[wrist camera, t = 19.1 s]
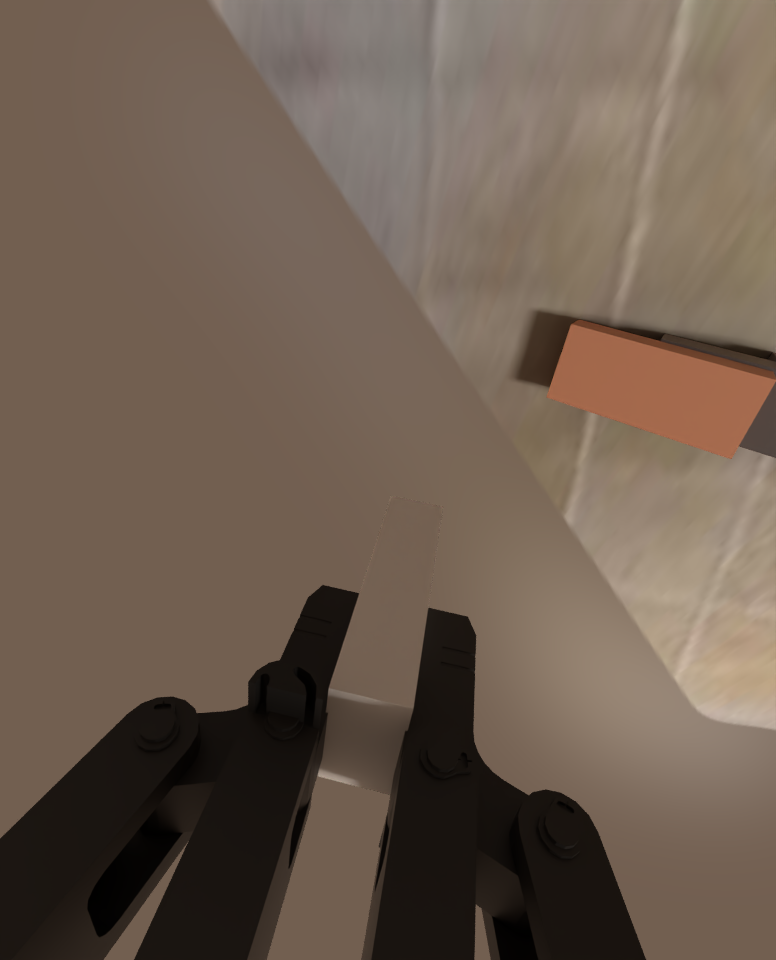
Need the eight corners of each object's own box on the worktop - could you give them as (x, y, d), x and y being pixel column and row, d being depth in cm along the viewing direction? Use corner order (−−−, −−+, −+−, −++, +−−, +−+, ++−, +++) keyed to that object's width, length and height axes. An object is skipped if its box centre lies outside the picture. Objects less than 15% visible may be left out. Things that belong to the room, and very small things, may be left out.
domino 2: (630, 411, 36) (829, 474, 32) (661, 338, 34) (883, 396, 29) (635, 402, 38) (823, 461, 34) (664, 333, 35) (873, 386, 31)
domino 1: (546, 397, 36) (731, 459, 32) (571, 324, 34) (776, 380, 29) (555, 389, 38) (730, 446, 34) (579, 319, 36) (773, 371, 31)
